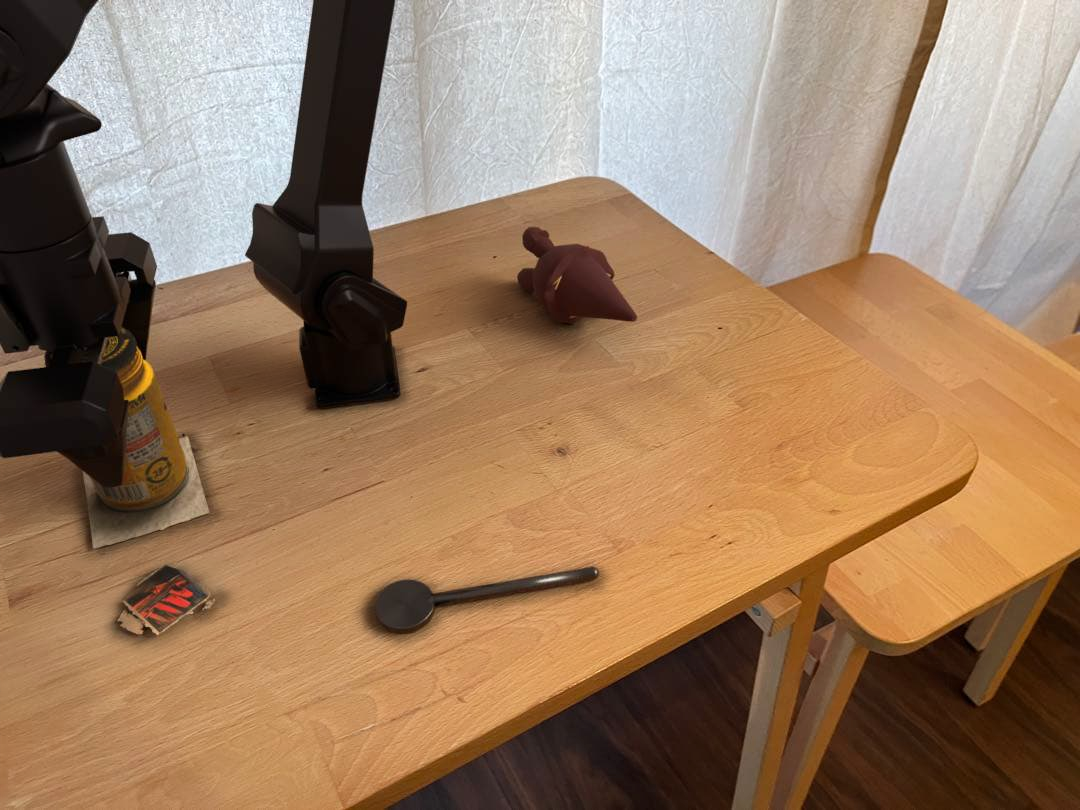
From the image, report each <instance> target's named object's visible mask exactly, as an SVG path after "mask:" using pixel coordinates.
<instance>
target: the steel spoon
mask: <svg viewBox="0 0 1080 810" xmlns="http://www.w3.org/2000/svg"><path fill="white" fill-rule="evenodd" d="M599 576H600V571H599V569H598V568H597V567H595V566H589V567H588V566H587V567H582V568H576V569H571V570H565V571H560V572H558V571H557V572H553V573H552V572H551V573H547V574H541V575H535V576H529V577H522V578H517V579H510V580H505V581H499V582H494V583H493V582H492V583H486V584H482V585H481V584H480V585H476V586H475V585H474V586H469V587H463V588H457V589H452V590H446V591H439V592H434V593H433V591H432V589H431V587H429V586H428V585H427V584H425V583H423V582H422V581H419V580H415V579H400V580H397V581H394V582H392V583H390V584H388V585H387V586H385V587H384V588H383V589H382V590H381V591H380V592H379V593H378V595H377V597H376V599H375V602H374V612H375V617H376V620H377V622H378V624H379V625H380V626H381V627H382V628H383V629H384V630H386V631H388V632H390V633H394V634H400V635H403V634H412V633H414V632H417V631H420V630H421V629H422V628H424V627H425V626H426V625H427V624H429V623H430V621H431V620H432V619H433V617H434V615H435V612H436V607H442V606H448V605H449V606H450V605H453V604H454V605H455V604H460V603H466V602H472V601H476V600H477V601H478V600H484V599H489V598H494V597H495V598H496V597H501V596H506V595H512V594H519V593H526V592H529V591H530V592H531V591H537V590H542V589H548V588H553V587H559V586H565V585H571V584H577V583H582V582H583V583H584V582H589V581H594V580H595V581H596V580H597V579H598V578H599Z"/></svg>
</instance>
